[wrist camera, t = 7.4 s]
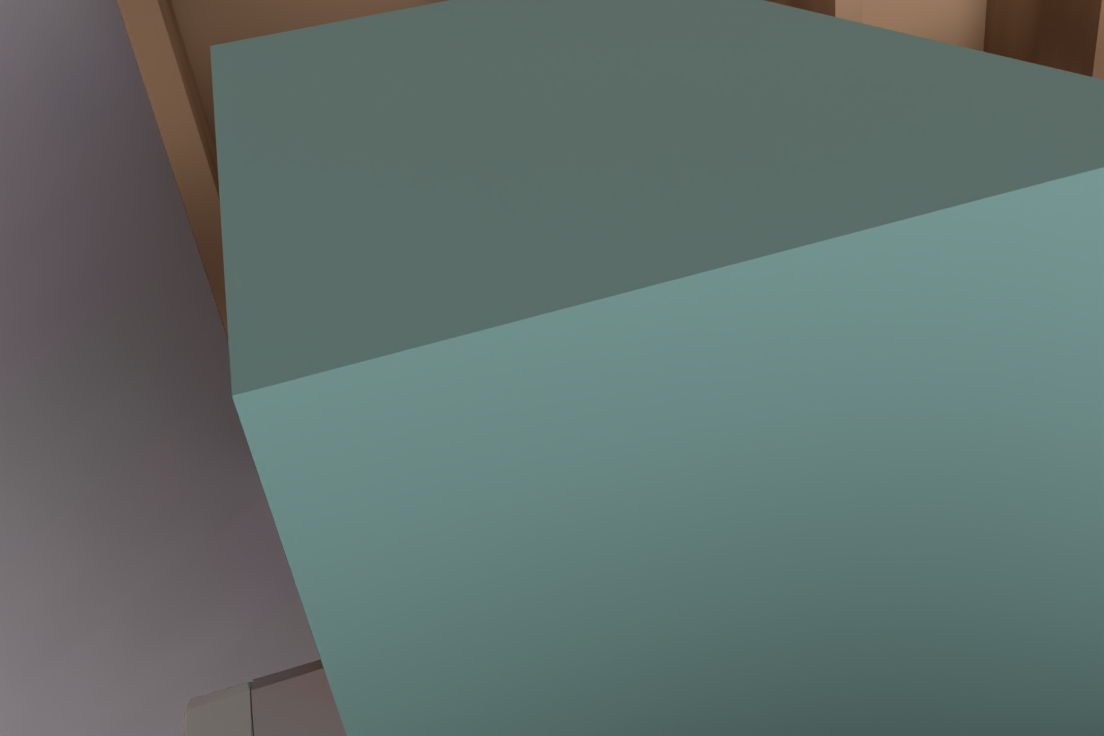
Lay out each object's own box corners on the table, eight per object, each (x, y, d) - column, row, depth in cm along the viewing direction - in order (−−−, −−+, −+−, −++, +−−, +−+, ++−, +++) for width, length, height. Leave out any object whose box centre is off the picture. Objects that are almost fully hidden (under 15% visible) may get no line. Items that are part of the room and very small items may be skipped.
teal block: (623, -33, 10) (1280, 121, 4) (690, 690, 15) (1029, 1256, 9) (210, 46, 9) (232, 394, 3) (426, 784, 14) (599, 1482, 8)
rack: (956, 278, 30) (1077, 344, 25) (289, 464, 26) (306, 577, 21) (994, -289, 23) (1168, -324, 19) (92, -157, 19) (61, -164, 15)
